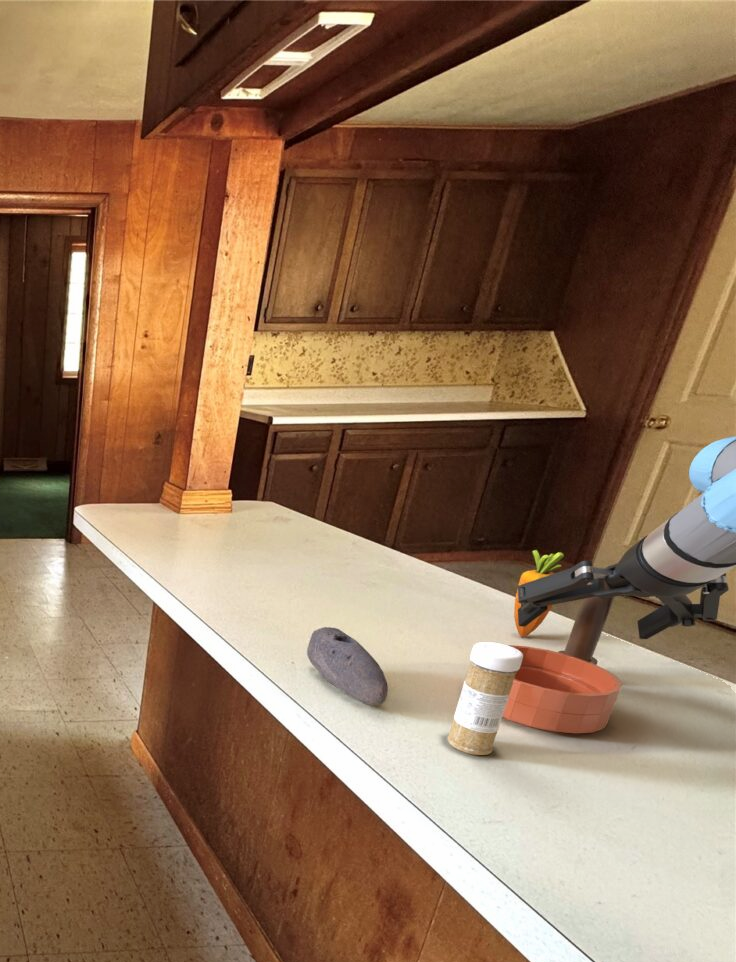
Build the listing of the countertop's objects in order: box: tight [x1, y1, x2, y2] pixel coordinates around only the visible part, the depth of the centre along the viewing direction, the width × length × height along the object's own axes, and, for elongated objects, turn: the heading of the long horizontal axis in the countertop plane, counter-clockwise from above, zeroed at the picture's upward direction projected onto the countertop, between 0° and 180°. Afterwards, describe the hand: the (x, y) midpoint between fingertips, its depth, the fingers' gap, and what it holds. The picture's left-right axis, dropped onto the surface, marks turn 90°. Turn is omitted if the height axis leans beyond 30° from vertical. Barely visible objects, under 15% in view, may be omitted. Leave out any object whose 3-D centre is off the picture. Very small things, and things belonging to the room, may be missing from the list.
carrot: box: [513, 549, 565, 638], centre depth 106 cm, size 5×5×15 cm
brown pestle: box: [557, 581, 616, 666], centre depth 94 cm, size 4×4×16 cm
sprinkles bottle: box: [446, 641, 523, 756], centre depth 79 cm, size 5×5×13 cm
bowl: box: [502, 644, 623, 734], centre depth 88 cm, size 14×14×6 cm
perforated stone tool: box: [306, 626, 389, 707], centre depth 94 cm, size 15×5×7 cm, turn 1°
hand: (579, 624), depth 95 cm, fingers open, 13 cm apart
